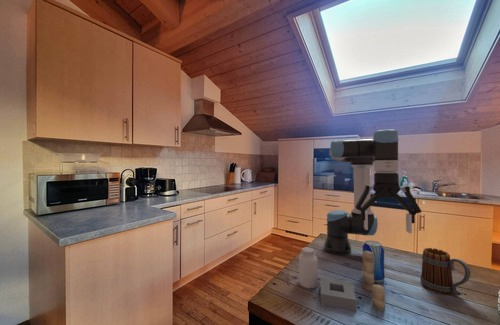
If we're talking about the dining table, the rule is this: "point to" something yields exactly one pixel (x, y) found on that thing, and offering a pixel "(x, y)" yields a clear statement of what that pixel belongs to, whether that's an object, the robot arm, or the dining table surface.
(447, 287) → the mug
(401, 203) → the robot arm
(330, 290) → the socket block
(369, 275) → the tall dowel
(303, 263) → the pill bottle
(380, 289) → the short dowel
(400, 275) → the dining table surface
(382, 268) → the beer can
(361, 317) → the dining table surface
